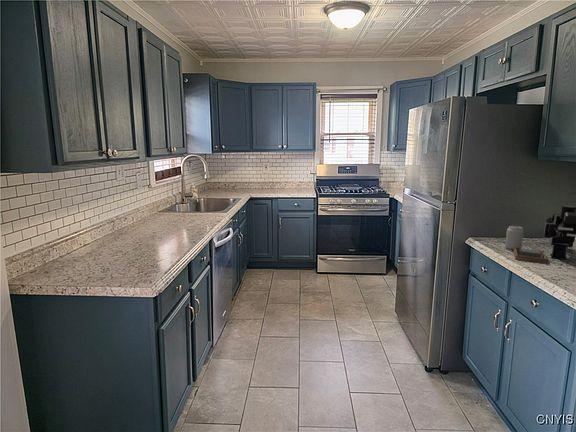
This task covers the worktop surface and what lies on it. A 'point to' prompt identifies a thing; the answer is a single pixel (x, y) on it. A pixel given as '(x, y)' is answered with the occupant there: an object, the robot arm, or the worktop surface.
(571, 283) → the worktop surface
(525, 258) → the walnut box
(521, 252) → the dark gray box
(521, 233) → the can
